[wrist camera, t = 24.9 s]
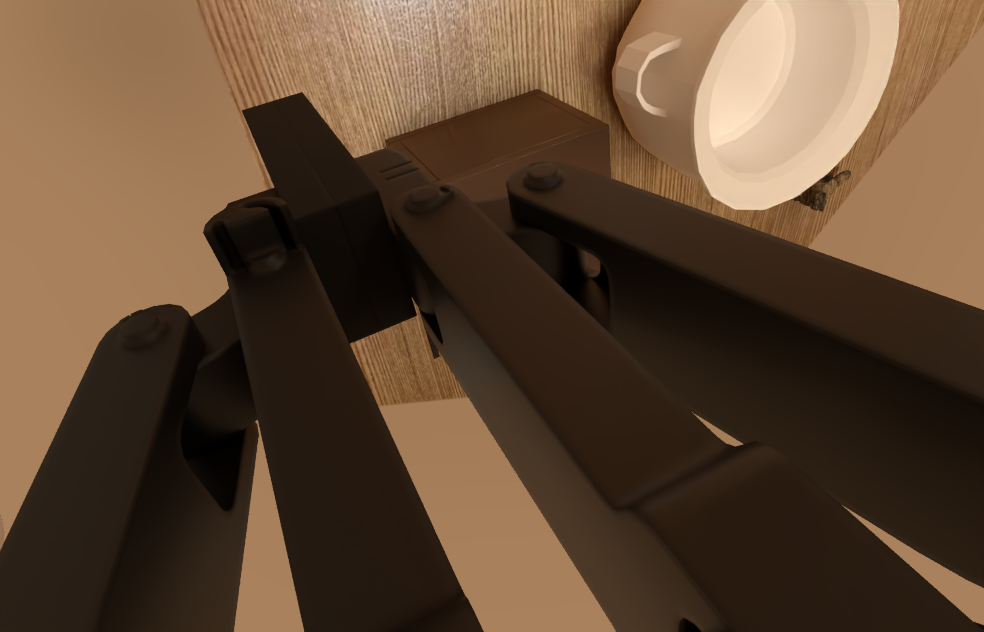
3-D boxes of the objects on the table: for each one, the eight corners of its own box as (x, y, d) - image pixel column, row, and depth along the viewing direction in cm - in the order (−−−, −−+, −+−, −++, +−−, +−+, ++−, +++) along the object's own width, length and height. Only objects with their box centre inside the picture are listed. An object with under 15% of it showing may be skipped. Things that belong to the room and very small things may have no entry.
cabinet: (555, 247, 56) (615, 299, 49) (429, 299, 53) (474, 363, 46) (538, 88, 47) (609, 124, 40) (384, 140, 44) (431, 188, 36)
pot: (813, -47, 51) (958, -33, 42) (743, 156, 60) (849, 203, 51) (597, -88, 42) (723, -81, 33) (552, 160, 51) (641, 219, 42)
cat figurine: (784, 184, 64) (821, 195, 61) (827, 155, 67) (864, 164, 64) (780, 207, 66) (816, 219, 63) (823, 178, 69) (858, 188, 66)
